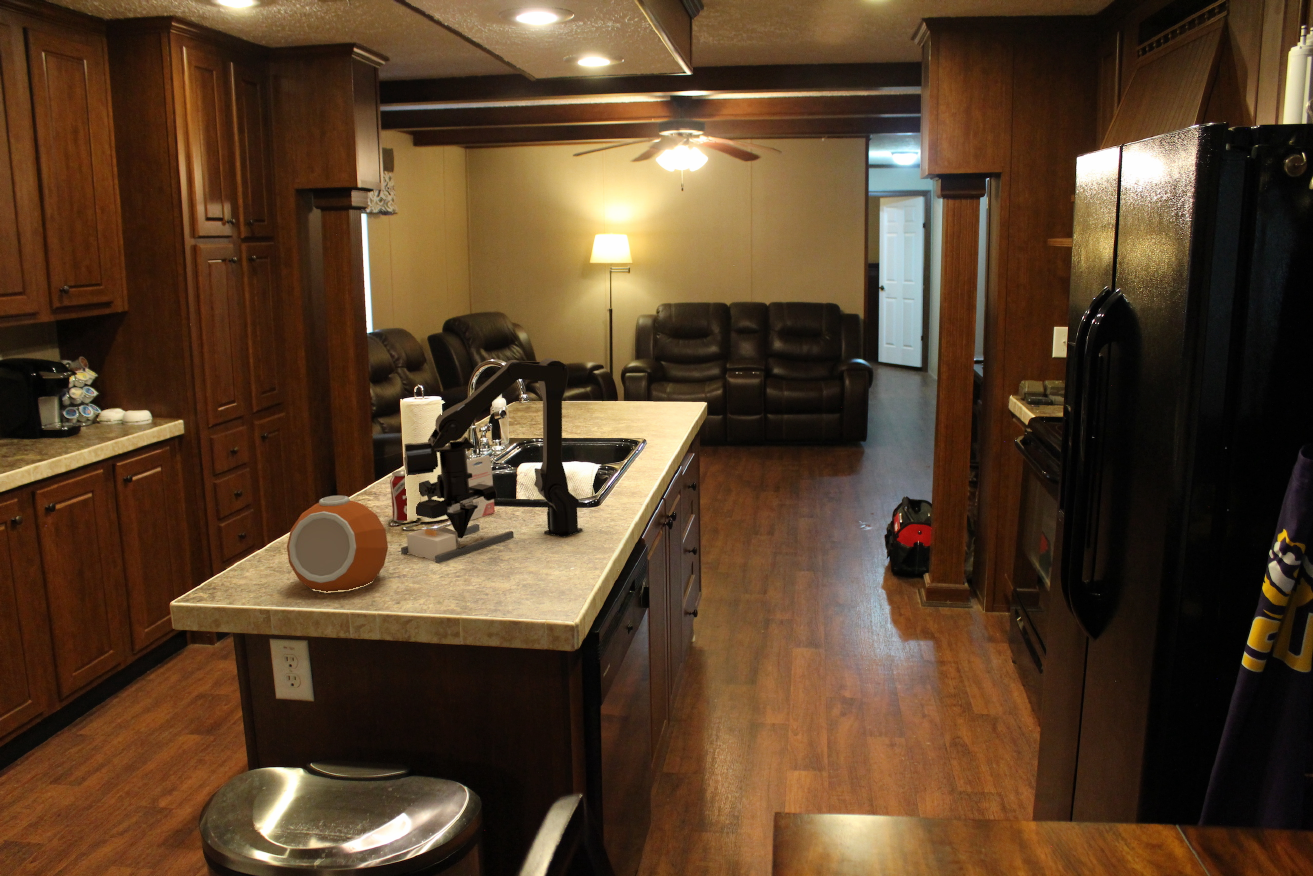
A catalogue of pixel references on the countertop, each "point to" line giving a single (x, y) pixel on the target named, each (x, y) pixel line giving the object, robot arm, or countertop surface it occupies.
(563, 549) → the countertop surface
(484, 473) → the ink cartridge box
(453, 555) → the gray rail frame
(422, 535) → the block
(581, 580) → the countertop surface
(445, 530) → the usb wall charger
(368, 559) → the alarm clock
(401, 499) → the soda can
